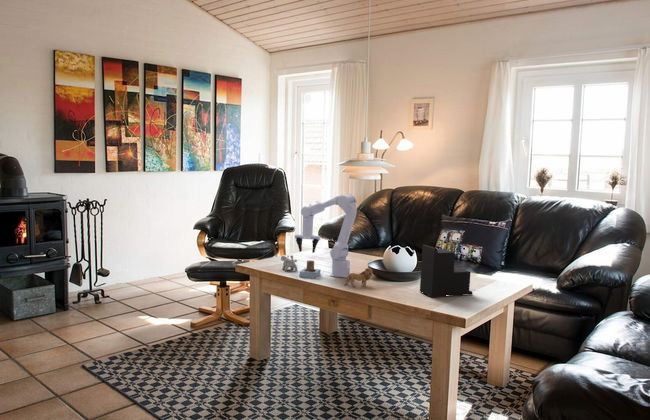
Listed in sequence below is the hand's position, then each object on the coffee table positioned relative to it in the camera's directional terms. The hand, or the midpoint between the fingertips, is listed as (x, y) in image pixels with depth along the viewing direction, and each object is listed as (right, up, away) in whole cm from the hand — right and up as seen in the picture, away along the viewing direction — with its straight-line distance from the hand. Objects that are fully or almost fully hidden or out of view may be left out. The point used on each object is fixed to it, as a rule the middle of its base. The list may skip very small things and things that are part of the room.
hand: (306, 251), depth 297 cm
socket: (+2, -12, -13) cm, 18 cm away
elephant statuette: (-11, -10, +2) cm, 15 cm away
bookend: (+68, -17, -42) cm, 82 cm away
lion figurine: (+27, -15, -32) cm, 44 cm away
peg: (+2, -12, -13) cm, 18 cm away
